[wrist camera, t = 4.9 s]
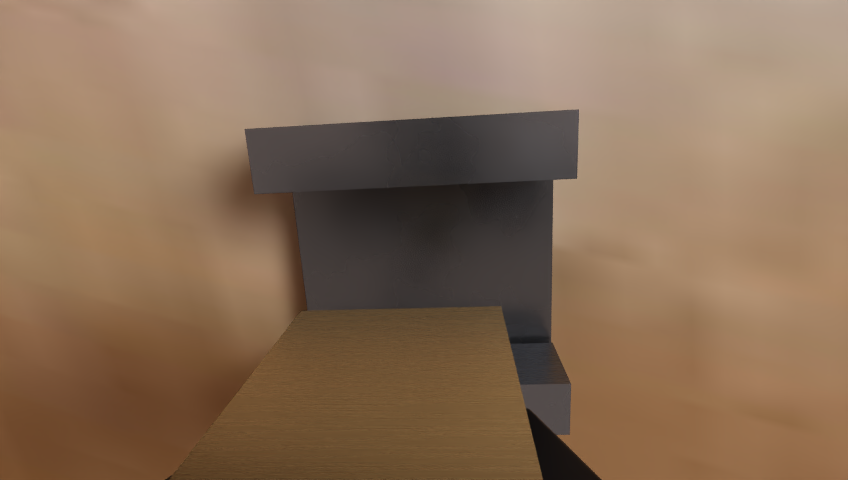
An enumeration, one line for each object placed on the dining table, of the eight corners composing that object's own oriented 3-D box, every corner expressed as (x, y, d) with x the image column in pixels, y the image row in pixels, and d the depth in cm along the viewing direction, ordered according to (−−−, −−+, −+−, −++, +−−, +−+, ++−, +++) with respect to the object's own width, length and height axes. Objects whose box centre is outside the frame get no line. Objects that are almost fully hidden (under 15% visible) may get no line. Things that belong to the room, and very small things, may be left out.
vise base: (544, 387, 21) (569, 460, 16) (327, 391, 21) (294, 461, 17) (547, 112, 18) (579, 109, 13) (294, 126, 19) (244, 129, 14)
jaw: (550, 448, 20) (568, 505, 17) (322, 450, 21) (301, 504, 18) (552, 342, 19) (570, 383, 16) (309, 348, 19) (284, 388, 16)
